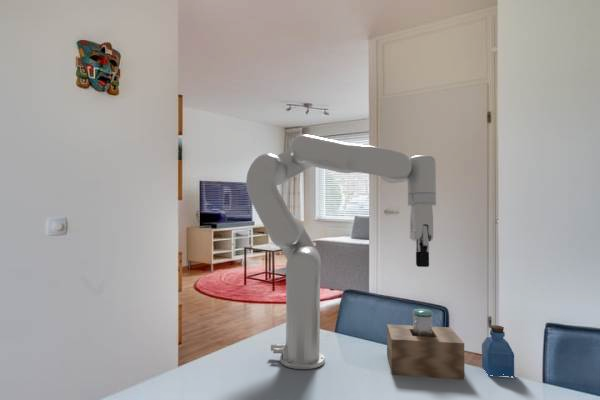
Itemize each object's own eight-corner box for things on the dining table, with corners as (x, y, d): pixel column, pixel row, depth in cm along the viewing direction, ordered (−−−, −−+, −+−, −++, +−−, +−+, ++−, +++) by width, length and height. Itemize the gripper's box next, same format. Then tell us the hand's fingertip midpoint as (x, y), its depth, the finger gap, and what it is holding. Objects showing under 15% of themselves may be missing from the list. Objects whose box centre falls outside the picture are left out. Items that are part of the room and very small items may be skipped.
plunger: (414, 345, 104) (414, 312, 104) (411, 339, 109) (411, 308, 109) (434, 347, 103) (434, 313, 103) (430, 340, 108) (430, 309, 109)
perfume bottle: (514, 378, 99) (513, 331, 99) (488, 376, 100) (487, 329, 100) (506, 369, 105) (506, 324, 105) (481, 367, 106) (481, 322, 106)
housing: (391, 374, 100) (391, 339, 100) (387, 355, 114) (387, 324, 114) (464, 379, 98) (464, 343, 98) (450, 358, 112) (450, 327, 112)
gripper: (404, 201, 116) (404, 262, 115) (412, 199, 101) (412, 269, 100) (430, 201, 115) (431, 263, 114) (442, 199, 100) (442, 270, 99)
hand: (422, 266), depth 107 cm, fingers closed
